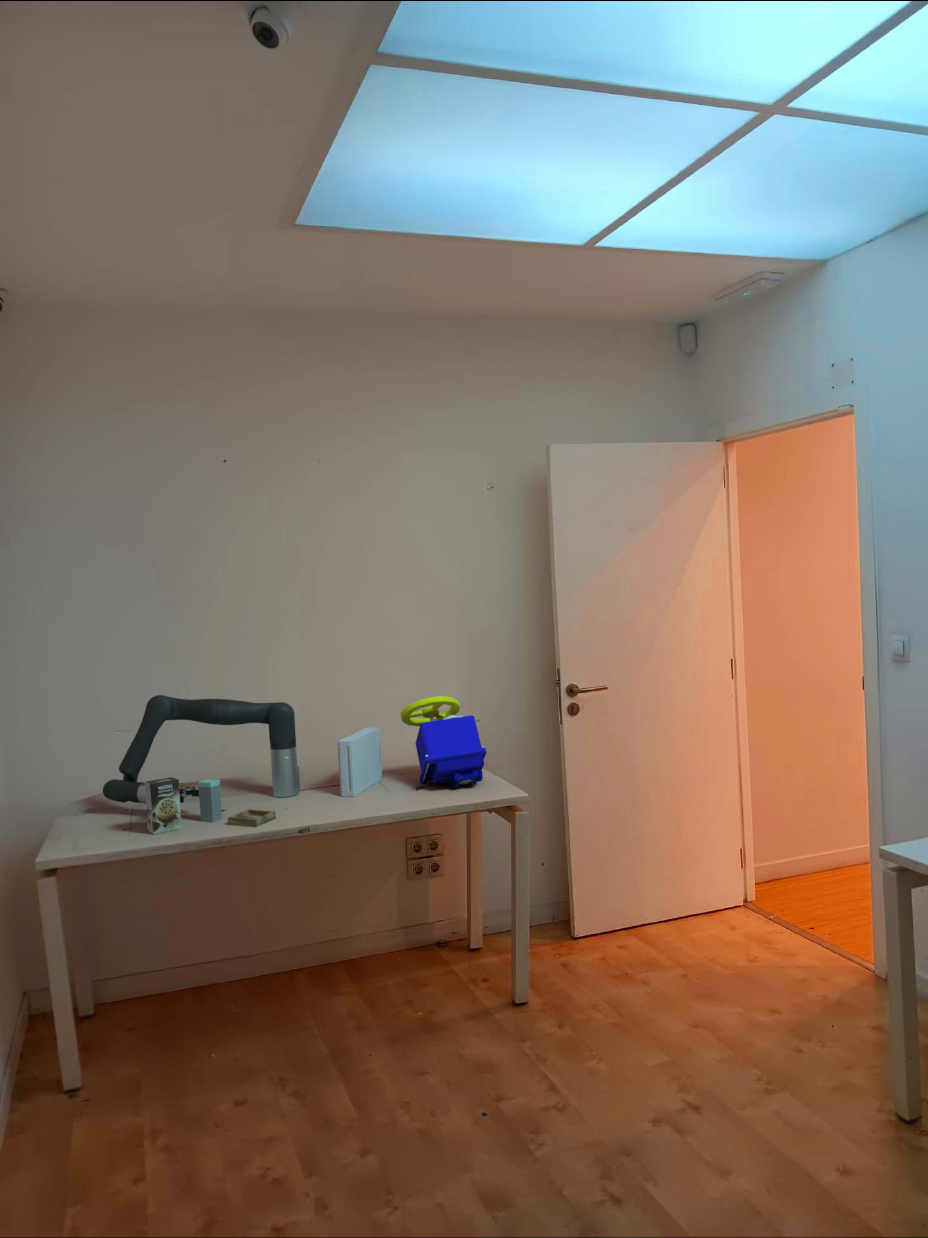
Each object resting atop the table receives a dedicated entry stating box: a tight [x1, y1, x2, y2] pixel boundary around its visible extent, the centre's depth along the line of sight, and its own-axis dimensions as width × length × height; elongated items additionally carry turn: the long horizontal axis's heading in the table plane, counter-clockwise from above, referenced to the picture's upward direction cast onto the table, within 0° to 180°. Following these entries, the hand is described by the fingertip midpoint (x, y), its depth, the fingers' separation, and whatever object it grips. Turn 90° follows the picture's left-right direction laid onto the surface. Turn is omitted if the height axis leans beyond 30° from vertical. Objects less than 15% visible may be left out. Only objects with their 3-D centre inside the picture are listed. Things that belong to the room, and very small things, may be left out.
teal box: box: [197, 778, 223, 823], centre depth 309 cm, size 5×5×13 cm
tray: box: [227, 809, 277, 828], centre depth 304 cm, size 10×11×2 cm
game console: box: [337, 727, 383, 798], centre depth 344 cm, size 6×27×20 cm, turn 163°
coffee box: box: [145, 776, 182, 835], centre depth 299 cm, size 9×6×16 cm
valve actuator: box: [400, 695, 488, 789], centre depth 343 cm, size 26×27×30 cm
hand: (192, 796), depth 312 cm, fingers open, 8 cm apart
